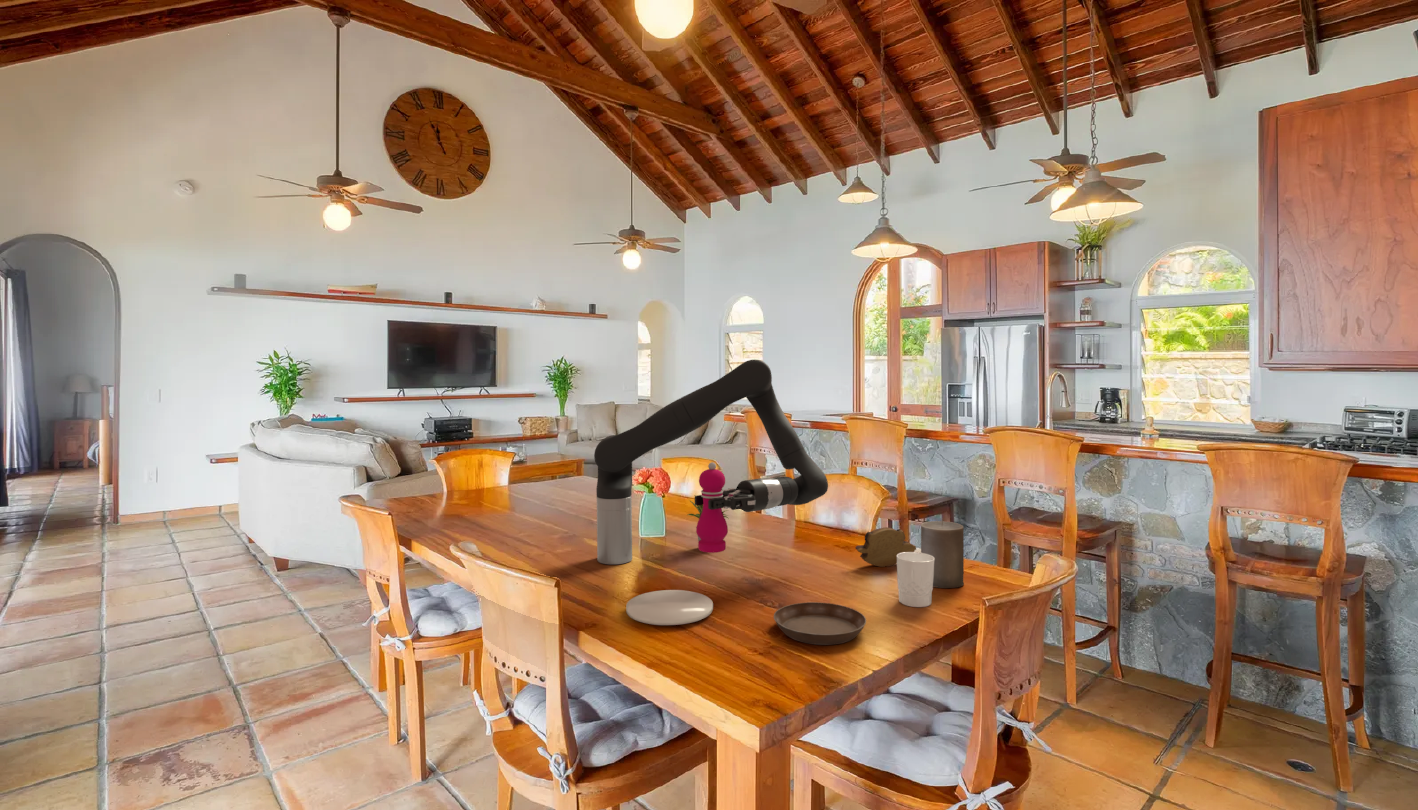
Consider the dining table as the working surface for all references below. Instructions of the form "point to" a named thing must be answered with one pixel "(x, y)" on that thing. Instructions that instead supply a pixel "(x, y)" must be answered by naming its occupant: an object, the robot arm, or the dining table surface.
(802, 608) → the plant saucer
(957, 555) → the pillar candle
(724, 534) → the pepper mill
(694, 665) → the dining table surface
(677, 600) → the plate
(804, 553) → the dining table surface
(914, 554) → the white cup
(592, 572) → the dining table surface
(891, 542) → the wooden carving
